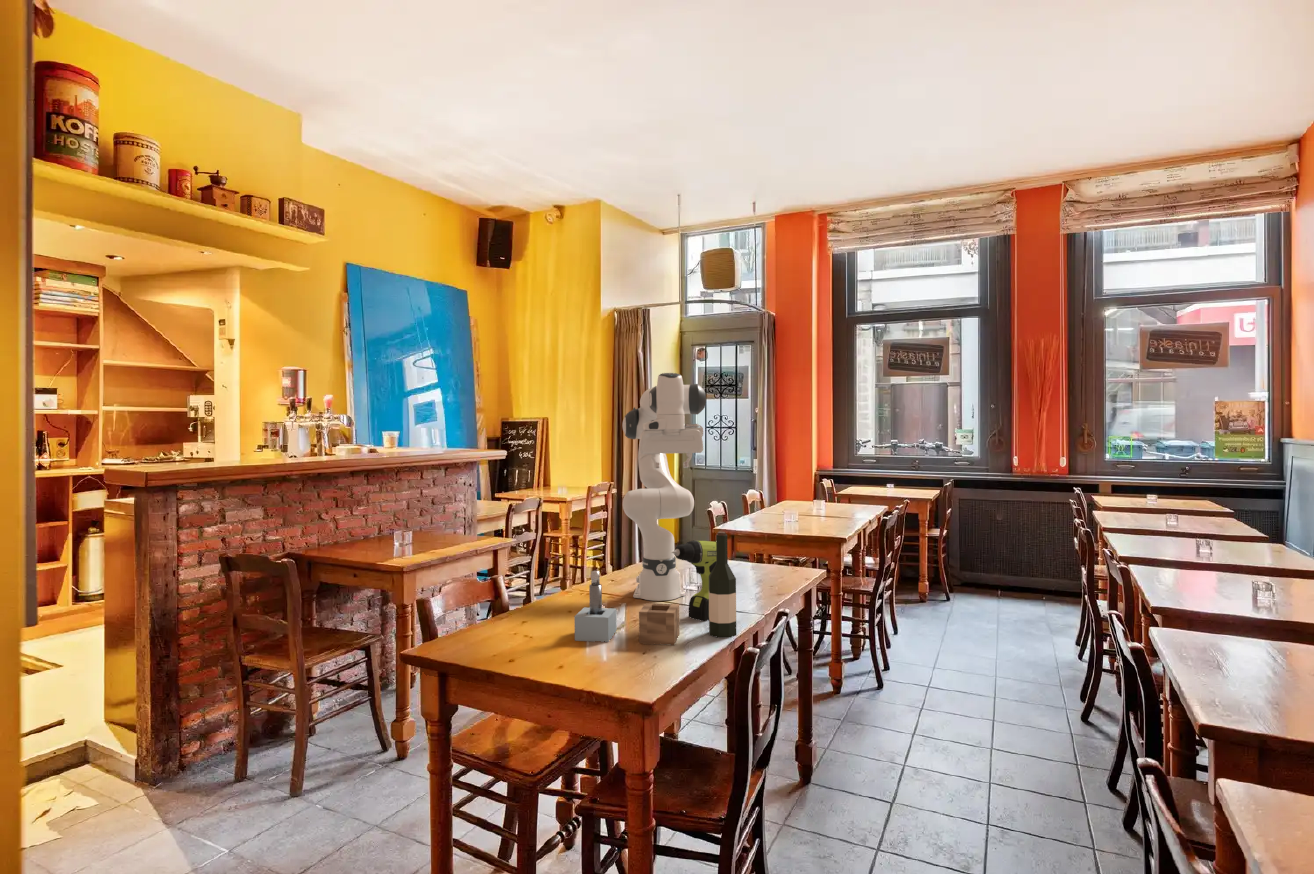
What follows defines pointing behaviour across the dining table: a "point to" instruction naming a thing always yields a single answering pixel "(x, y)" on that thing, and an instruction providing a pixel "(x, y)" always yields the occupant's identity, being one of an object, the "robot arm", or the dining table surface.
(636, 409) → the robot arm
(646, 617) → the block
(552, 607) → the dining table surface
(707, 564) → the cordless drill
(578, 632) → the socket block
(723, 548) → the wine bottle
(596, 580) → the stepped metal cylinder
